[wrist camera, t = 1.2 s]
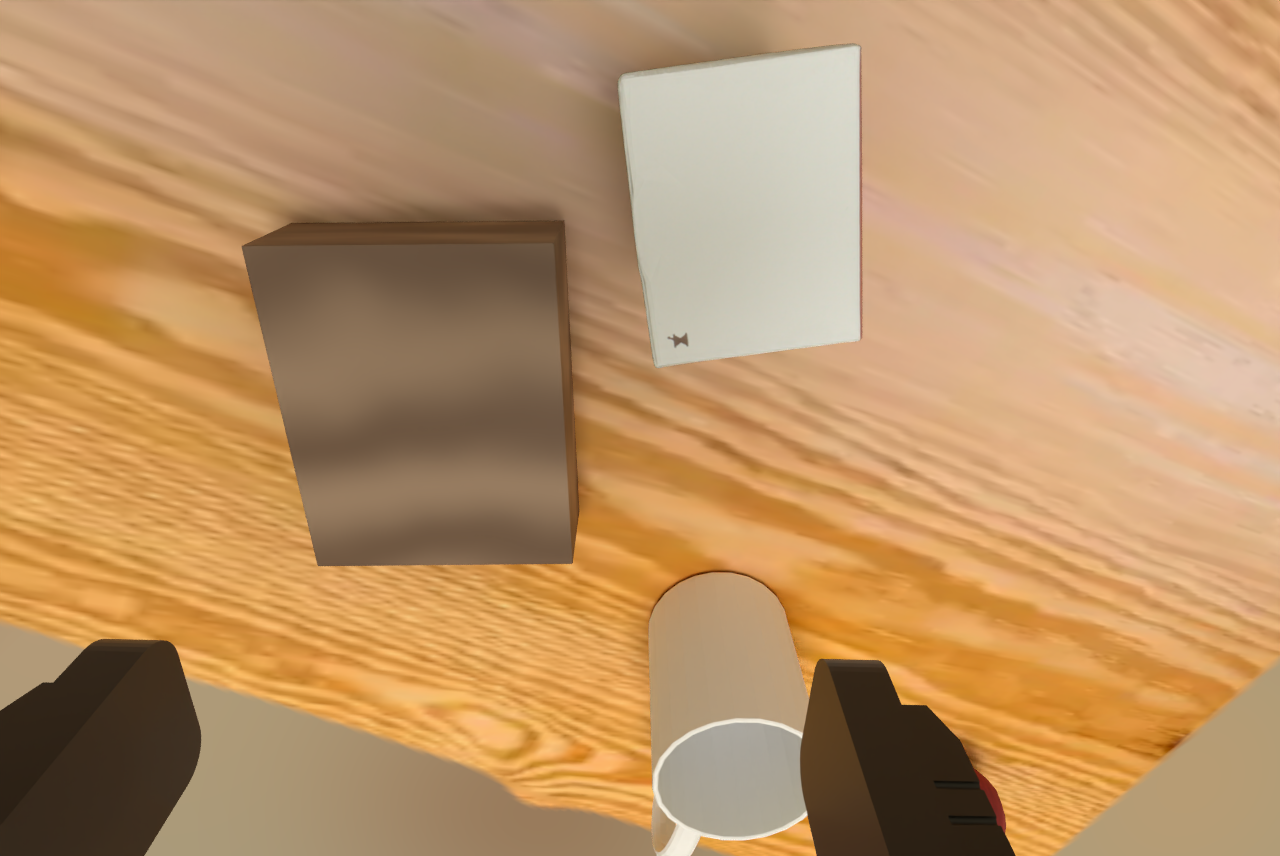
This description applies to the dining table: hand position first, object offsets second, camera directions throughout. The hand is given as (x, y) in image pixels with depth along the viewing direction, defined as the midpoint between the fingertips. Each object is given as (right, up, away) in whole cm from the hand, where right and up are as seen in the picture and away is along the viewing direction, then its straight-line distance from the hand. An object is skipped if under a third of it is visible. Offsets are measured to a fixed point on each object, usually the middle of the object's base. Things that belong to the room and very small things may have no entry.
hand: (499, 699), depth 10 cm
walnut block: (-7, +6, +27) cm, 29 cm away
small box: (+5, +15, +23) cm, 27 cm away
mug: (+5, -10, +34) cm, 36 cm away
